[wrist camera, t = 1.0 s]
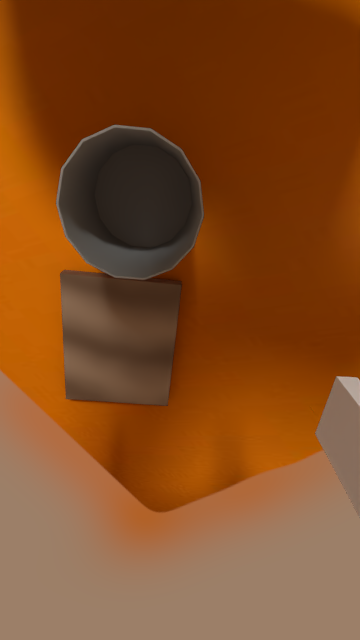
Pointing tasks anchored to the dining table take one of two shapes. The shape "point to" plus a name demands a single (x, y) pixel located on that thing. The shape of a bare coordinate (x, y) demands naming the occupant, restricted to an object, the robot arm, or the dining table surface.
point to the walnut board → (118, 337)
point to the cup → (130, 202)
